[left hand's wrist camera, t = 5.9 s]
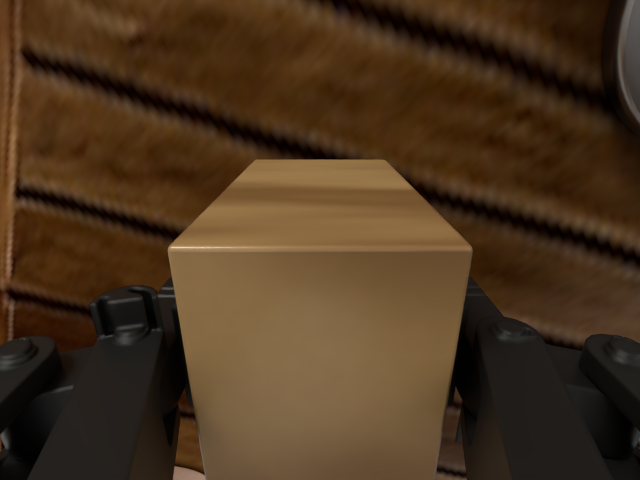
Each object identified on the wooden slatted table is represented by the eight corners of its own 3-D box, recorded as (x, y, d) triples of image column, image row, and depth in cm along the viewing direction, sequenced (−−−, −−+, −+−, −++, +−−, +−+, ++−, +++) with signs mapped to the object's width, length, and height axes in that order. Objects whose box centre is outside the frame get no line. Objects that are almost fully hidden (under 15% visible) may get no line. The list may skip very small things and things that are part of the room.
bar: (254, 159, 14) (164, 246, 6) (385, 159, 14) (476, 246, 6) (278, 530, 22) (254, 780, 14) (361, 531, 22) (385, 780, 14)
